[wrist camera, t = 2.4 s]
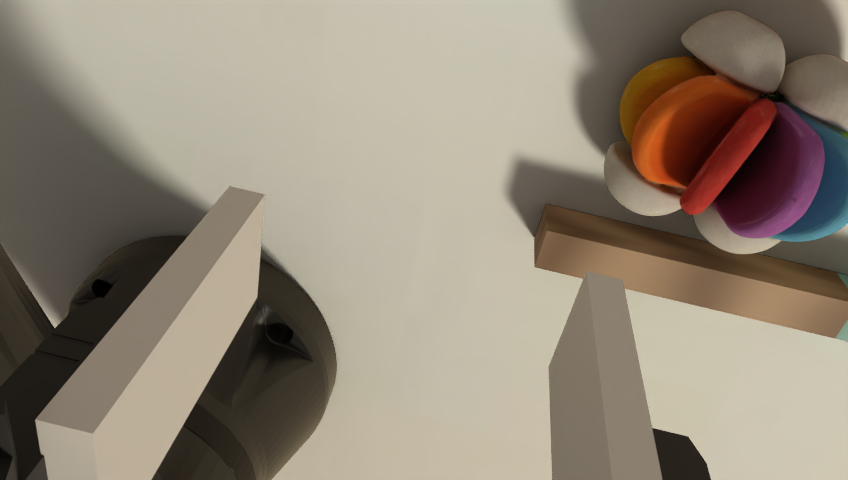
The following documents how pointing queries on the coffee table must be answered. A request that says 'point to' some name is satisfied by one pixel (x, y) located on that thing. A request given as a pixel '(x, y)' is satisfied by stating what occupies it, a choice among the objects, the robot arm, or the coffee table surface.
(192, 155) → the coffee table surface
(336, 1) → the coffee table surface
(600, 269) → the bay
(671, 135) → the rainbow sensory ball
